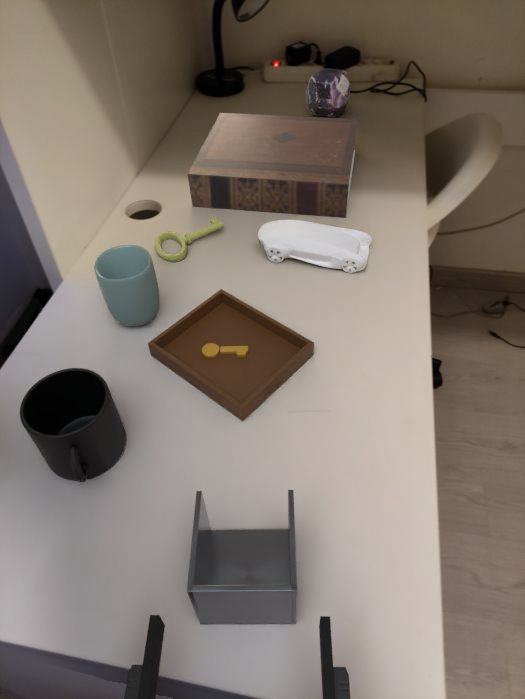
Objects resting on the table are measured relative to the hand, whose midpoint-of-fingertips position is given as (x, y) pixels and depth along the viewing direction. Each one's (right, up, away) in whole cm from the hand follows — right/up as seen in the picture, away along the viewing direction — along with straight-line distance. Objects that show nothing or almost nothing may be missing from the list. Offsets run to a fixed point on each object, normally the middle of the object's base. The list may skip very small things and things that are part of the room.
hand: (240, 620), depth 44 cm
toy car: (+10, +38, +44) cm, 59 cm away
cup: (-17, +27, +36) cm, 48 cm away
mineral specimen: (+17, +76, +79) cm, 111 cm away
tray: (-2, +21, +30) cm, 36 cm away
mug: (-19, +9, +20) cm, 29 cm away
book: (+5, +56, +61) cm, 83 cm away
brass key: (-3, +22, +29) cm, 37 cm away
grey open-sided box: (0, 0, +10) cm, 10 cm away
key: (-11, +40, +47) cm, 63 cm away
